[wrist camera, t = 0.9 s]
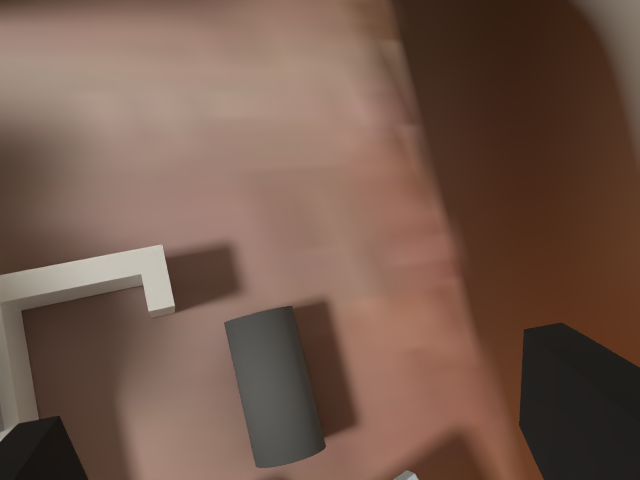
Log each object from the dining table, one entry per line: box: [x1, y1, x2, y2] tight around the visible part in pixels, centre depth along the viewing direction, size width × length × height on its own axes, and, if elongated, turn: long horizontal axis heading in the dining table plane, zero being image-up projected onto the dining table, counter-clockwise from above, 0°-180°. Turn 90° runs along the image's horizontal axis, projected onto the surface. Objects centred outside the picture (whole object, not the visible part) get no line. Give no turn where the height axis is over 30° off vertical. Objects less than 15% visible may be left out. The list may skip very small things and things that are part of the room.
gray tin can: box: [224, 306, 326, 468], centre depth 24 cm, size 6×3×3 cm, turn 14°
